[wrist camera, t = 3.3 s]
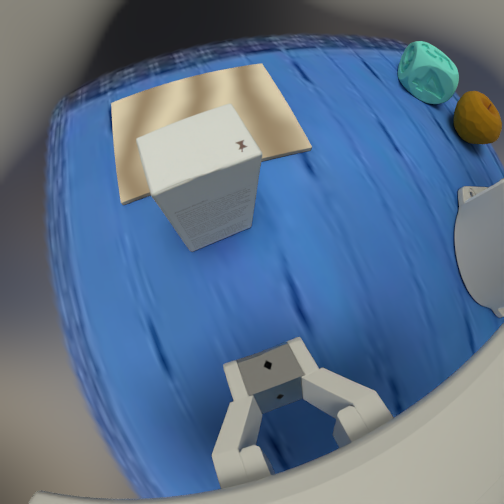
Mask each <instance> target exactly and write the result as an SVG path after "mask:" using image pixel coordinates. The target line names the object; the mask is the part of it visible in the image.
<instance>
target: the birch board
mask: <svg viewBox="0 0 504 504" xmlns="http://www.w3.org/2000/svg"><path fill="white" fill-rule="evenodd" d="M226 104H232V105H233V107H234V108H235V110H236V112H237V113H238V115H239V116H240V118H241V119H242V121H243V123H244V124H245V126H246V127H247V129H248V131H249V132H250V134H251V135H252V137H253V139H254V140H255V142H256V143H257V145H258V147H259V148H260V150H261V151H262V159H261V162H262V161H266V160H270V159H274V158H279V157H283V156H287V155H292V154H296V153H301V152H306V151H310V150H311V149H312V146H311V145H310V143H309V141H308V139H307V137H306V135H305V133H304V132H303V130H302V128H301V126H300V125H299V123H298V121H297V119H296V118H295V116H294V114H293V112H292V111H291V109H290V107H289V106H288V104H287V102H286V101H285V99H284V97H283V96H282V94H281V92H280V91H279V89H278V88H277V86H276V84H275V83H274V81H273V80H272V78H271V77H270V75H269V74H268V72H267V70H266V69H265V67H264V66H263V64H255V65H248V66H242V67H236V68H230V69H225V70H220V71H215V72H210V73H205V74H201V75H197V76H193V77H189V78H185V79H181V80H178V81H174V82H171V83H167V84H164V85H161V86H157V87H154V88H151V89H148V90H145V91H142V92H139V93H137V94H134V95H131V96H128V97H126V98H123V99H121V100H118V101H116V102H113V103H111V105H112V126H113V140H114V151H115V161H116V170H117V178H118V186H119V193H120V199H121V203H122V205H125V204H128V203H131V202H133V201H136V200H139V199H141V198H144V197H147V196H150V195H151V194H150V190H149V187H148V184H147V180H146V177H145V173H144V170H143V166H142V163H141V159H140V155H139V151H138V147H137V143H136V139H137V138H138V137H141V136H143V135H146V134H148V133H150V132H152V131H155V130H157V129H160V128H162V127H165V126H167V125H170V124H172V123H175V122H177V121H180V120H182V119H185V118H188V117H191V116H193V115H196V114H199V113H202V112H205V111H208V110H211V109H214V108H217V107H220V106H223V105H226Z"/></svg>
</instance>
